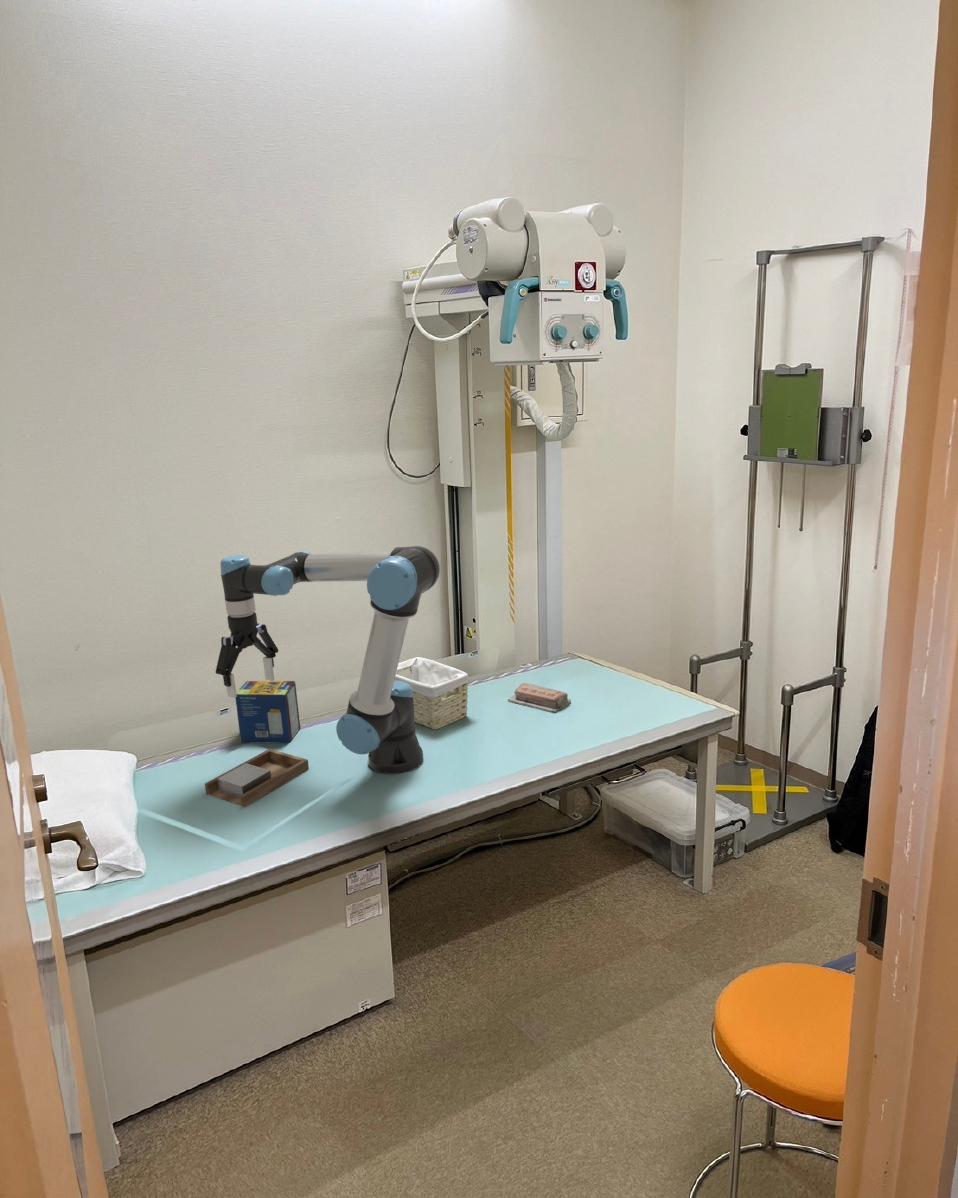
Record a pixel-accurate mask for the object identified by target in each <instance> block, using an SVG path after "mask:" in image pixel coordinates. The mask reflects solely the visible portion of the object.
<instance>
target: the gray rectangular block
mask: <svg viewBox="0 0 958 1198" xmlns="http://www.w3.org/2000/svg"><path fill="white" fill-rule="evenodd" d="M270 778H271V772H270V770H267V769H264V768H261V767H257V766H254V765H251V764H247V763H245V764H243V765H242V766H240V767H238V768H236V769H234V770H232V771H231V772H229V773H227V774H225V775H223V776H221V777H219V778H218V779H217V780H218V788H219V793H222V794H225V795H228V796H231V797H234V798H237V799H240V800H241V795H243V794H244V793H246V792H248V791H250V790H251V789H253V788H255V787H257V786H258V785H260V784H262V783H263V782H265V781H267V780H269V779H270Z"/></svg>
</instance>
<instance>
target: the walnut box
mask: <svg viewBox="0 0 958 1198" xmlns="http://www.w3.org/2000/svg"><path fill="white" fill-rule="evenodd" d="M245 763H247V764H251V765H254V766H257V767H261V768H264V769H267V770H270V772H271V778H270V779H269V780H267V781H265V782H263V783H262V784H260V785H258V786H257V787H255V788H253V789H251V790H250V791H248V792H246V793H244V794H243V795H241V800H240V799H237V798H234V797H231V796H228V795H225V794H222V793H219V788H218V780H217V779H218V778H219V777H221V776H223V775H225V774H227V773H229V772H231V771H232V770H234V769H236V768H238V767H240V766H242V765H243V764H245ZM306 771H309V760H308V759H307V758H303V757H300V756H297V755H292V754H289V753H285V752H283V751H278V750H276V749H275V750H274V749H272V748H268V749H266V750H265V751H262V752H260V753H259V754H257V755H255V756H254V757H252V758H250V759H248V760H246V761H244V762H242V763H241V764H239V765H237V766H235V767H233V768H232V769H230V770H227V771H226V772H223V773H222V774H220V775H219V776H217V777H215V778H213V779H211V780H209V781H207V782H205V783H204V788H205V794H206V795H209V796H211V797H215V798H217V799H221V800H224V801H226V802H230V803H232V804H235V805H239V806H242V807H245V808H246V807H248V806H249V805H251V804H253V803H254V802H256V801H258V800H260V799H261V798H263V797H265V796H266V795H268V794H270V793H271V792H273V791H275V790H277V789H278V788H280V787H281V786H283V785H285V784H286V783H288V782H290V781H291V780H293V779H295V778H297V777H298V776H300V775H302V774H303V773H305V772H306Z"/></svg>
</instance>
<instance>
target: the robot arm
mask: <svg viewBox="0 0 958 1198" xmlns="http://www.w3.org/2000/svg"><path fill="white" fill-rule="evenodd" d="M219 564H220V576H221V581H222V587H223V593H224V603H225V610H226V614H227V615H228V616H227V617H226V618H227V624H228V629H229V632H230V636H227V637H226V636H222V637H221V638H220V639H221V640H220V641H221V647H220V651H219V655H218V658H217V659H218V660H217V663H216V667H215V674H216V675H221V676H222V679H223V686H225V687H226V694H227V697H230V698H234V699H235V697H237V695H236V692H237V689H236V681H235V674H234V673H232V672H233V669H234V667H235V665H236V662H237V660H238V658H239V656H240V653H242V652H243V650H244V649H247V648H248V647H252V646H254V647H255V648H256V649H257V650H258V651H259V652H261V653H262V654H263V655H264V656H263V657H262V663H263V670H264V677H265V681H275V676H274V674H275V673H274V668H275V664H274V663H275V662H274V658H276V654H277V653H279V649H278V646H277V645H276V643H275V642H274V640H273V638H272V637H271V635H270V634H269V632H268V628H267V625H266V624H264V623H258V618H257V613H256V608H257V607H256V601H255V595H254V594H257V595H266V596H274V597H276V596H285V595H287V594H289V593H290V591H291V590H292V589H293V587H294V586H295V585H296V584H299V583H313V582H315V583H317V582H319V583H320V582H322V583H323V582H366V590H367V593H368V594H369V599H370V607H371V608H372V609H373V611H374V612H373V613H374V614H373V617H372V621H371V627H370V631H369V636H368V641H367V646H366V650H365V654H364V659H363V663H362V668H361V673H360V678H359V681H358V685H357V690H355V691H354V692H352V693H351V694H350V697H349V699H348V704H347V709H346V713H345V714H343V715H342V716H340V718H339V719H338V721H337V723H336V727H335V728H336V735H337V738H338V740H339V741H340V742H341V744H342V745H343V747H345V749H346V750H348V751H349V752H352V753H353V754H357V755H367V754H368V756H367V759H368V761H367V762H368V766H369V768H370V769H371V770H373V771H376V772H379V773H380V774H402V773H407V772H410V771H412V770H415V769H417V768H419V766H421V765H422V764H423V763H424V751H423V749H422V747H421V745H420V742H419V739H418V737H417V734H416V724H415V723H416V722H415V720H414V703H413V697H414V696H413V693H412V687H411V686H410V685H409V684H408V683H406V682H403V681H396V680H395V676H396V672H397V667H398V663H400V658H401V654H402V649H403V646H404V642H405V637H406V634H407V633H406V632H407V629H408V624H409V620H410V619H411V618H413V617H414V616H416V614H417V613H418V609H419V605H420V601H421V597H422V595H423V594H424V593H426V592H427V591H429V590H430V589H431V588H433V587H434V585H435V584H437V581H438V579H439V577H440V572H441V566H440V563H439V560H438V558H437V556H436V555H435V553H433V552H432V551H431V550H430V549H428V548H426V547H424V546H419V545H413V546H401V547H394V548H392V549H391V550H390V551H367V552H366V551H365V552H364V551H363V552H337V553H336V552H333V553H330V552H329V553H312V552H309V551H307V550H302V551H298V552H293V553H292V554H290V555H288V556H285V557H283V558H280V559H278V560H276V561H273V562H271V563H269V564H266V565H265V564H264V565H261V564H260V565H259V564H251V561H250V557H249V556H247V555H245V554H235V555H234V554H233V555H229V556H226V557H223V558H222V559H221V560H220V563H219ZM258 635H259V636H260V638H261V639H260V638H258ZM262 641H263V642H262Z"/></svg>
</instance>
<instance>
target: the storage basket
mask: <svg viewBox="0 0 958 1198" xmlns="http://www.w3.org/2000/svg"><path fill="white" fill-rule="evenodd" d="M408 669H409V671H410V673H409V674H408V675H407V676H402V675H400V673H401V672H404V671H406V670H408ZM395 680H396V681H403V682H406V683H408V684H409V685H410V686H411V687H412V693H413V696H414V697H413V703H414V720H415V723H416V724H419V725H421V726H423V727H424V726H425V727H426V728H429V729H431V730H439V729H441V728H443V727H446V726H448V725H450V724H452V723H455V722H456V721H458V720H462V719H464V718H465V717H466V716H467V715H468V698H469V695H468V689H469V688H468V684H469V682H470V677H469V674H468V673H467V672H465V671H463V670H460V669H458V668H455V667H452V666H449V665H447V664H444V663H440V662H438V661H436V660H432V659H429V658H425V657H419V656H416V657H413V658H410V659H407V660H404V661H400V662H399V663H398V667H397V672H396V676H395Z"/></svg>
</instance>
